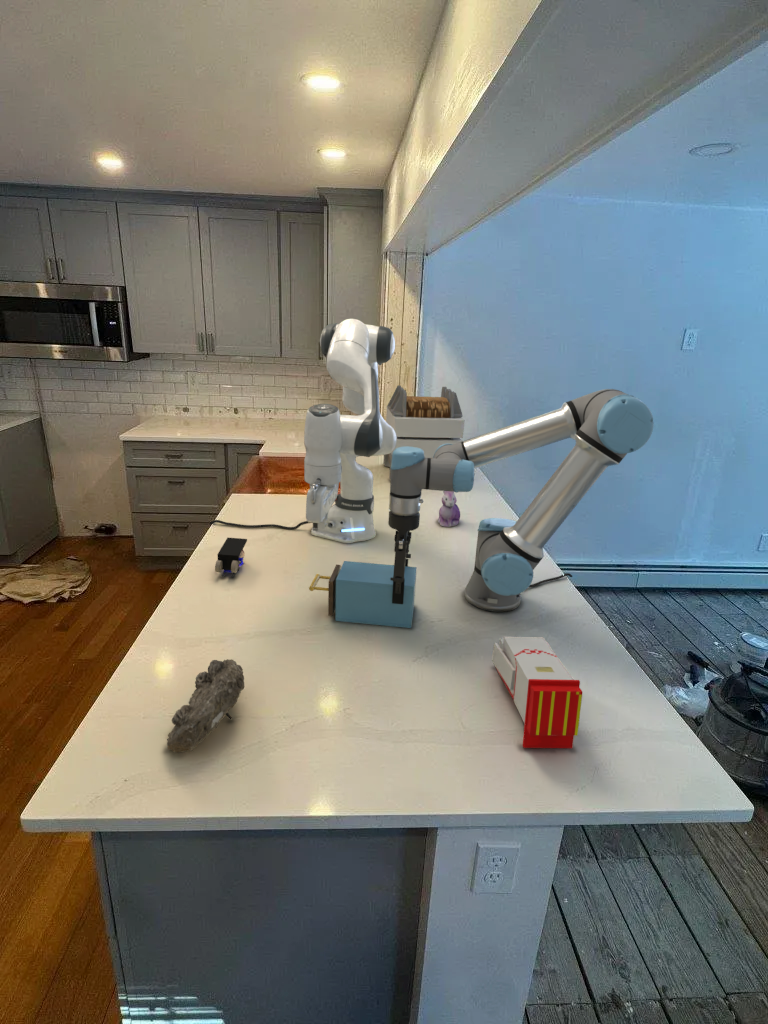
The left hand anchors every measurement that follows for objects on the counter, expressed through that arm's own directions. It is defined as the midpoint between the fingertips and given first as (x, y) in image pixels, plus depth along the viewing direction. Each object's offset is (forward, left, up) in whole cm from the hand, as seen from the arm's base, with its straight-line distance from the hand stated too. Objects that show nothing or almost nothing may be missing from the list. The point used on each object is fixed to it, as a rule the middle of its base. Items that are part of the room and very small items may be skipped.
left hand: (322, 527), depth 141 cm
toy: (+54, -21, -23) cm, 62 cm away
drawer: (+9, +1, -22) cm, 24 cm away
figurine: (+21, +75, -23) cm, 81 cm away
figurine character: (-33, +12, -23) cm, 42 cm away
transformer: (-4, +138, -23) cm, 140 cm away
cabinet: (+14, +2, -23) cm, 27 cm away
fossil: (-4, -46, -23) cm, 51 cm away
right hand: (+20, +3, -16) cm, 26 cm away
